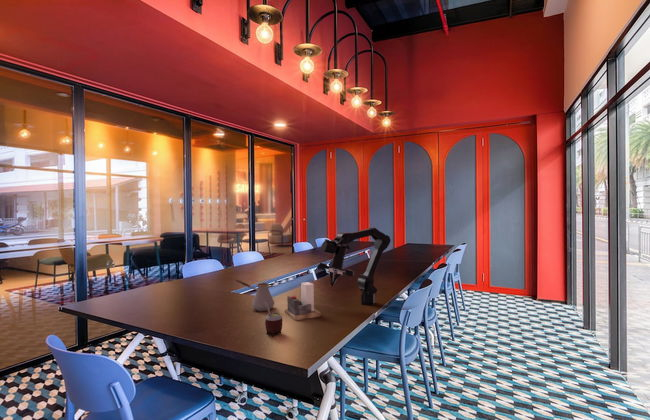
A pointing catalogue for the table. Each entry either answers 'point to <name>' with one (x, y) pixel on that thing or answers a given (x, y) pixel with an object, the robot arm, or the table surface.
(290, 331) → the table surface
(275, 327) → the mate gourd
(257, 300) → the coffee pot
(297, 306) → the stepped stone block model
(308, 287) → the white tall block
